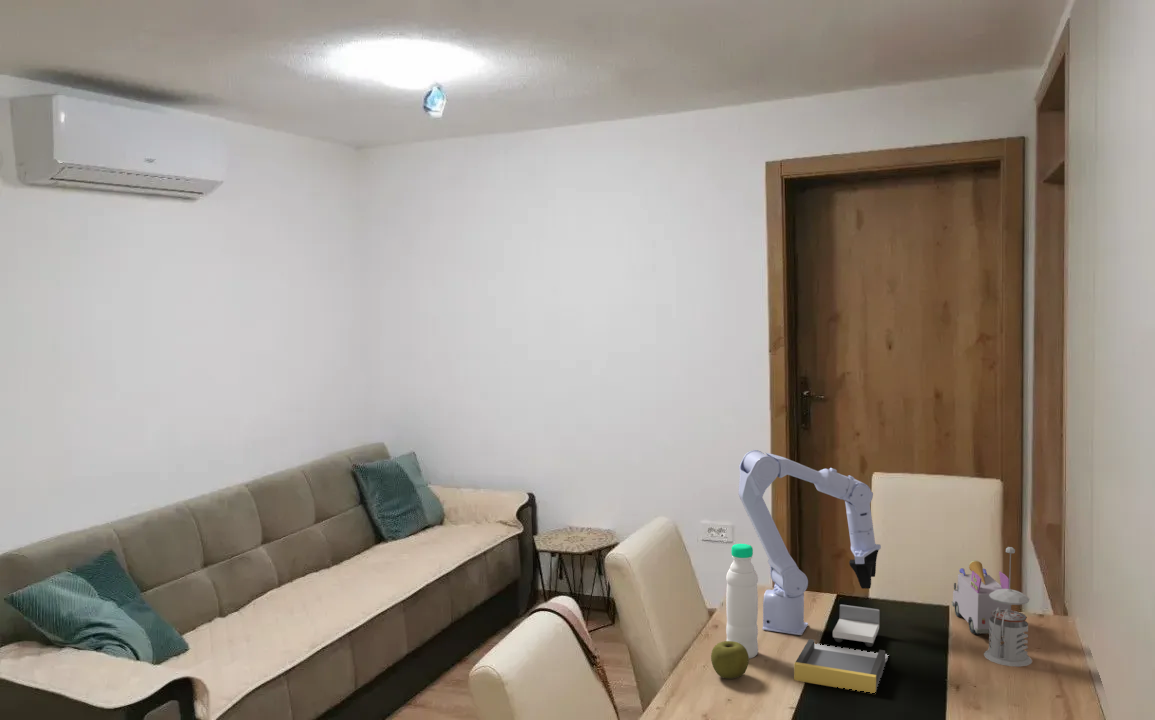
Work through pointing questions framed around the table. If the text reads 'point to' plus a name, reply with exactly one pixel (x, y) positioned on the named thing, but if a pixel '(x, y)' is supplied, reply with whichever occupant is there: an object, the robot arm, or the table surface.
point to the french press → (1008, 628)
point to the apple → (729, 659)
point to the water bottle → (742, 599)
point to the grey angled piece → (857, 624)
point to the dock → (840, 667)
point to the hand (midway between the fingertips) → (868, 582)
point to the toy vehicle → (977, 597)
